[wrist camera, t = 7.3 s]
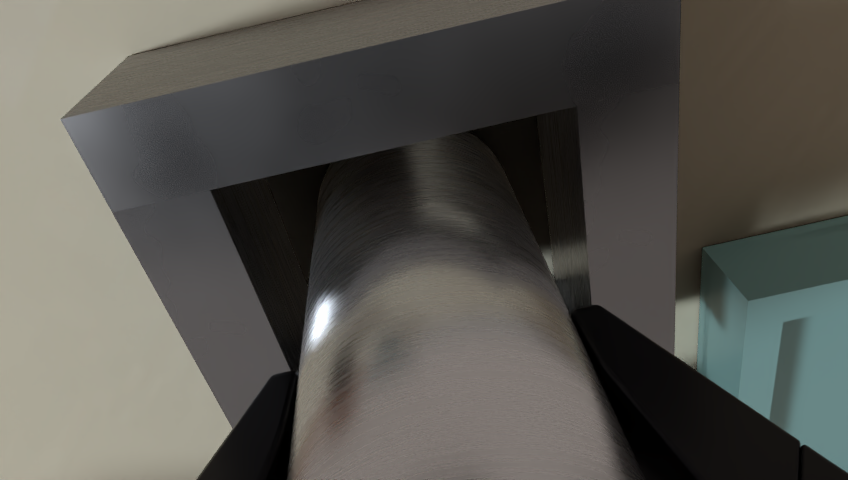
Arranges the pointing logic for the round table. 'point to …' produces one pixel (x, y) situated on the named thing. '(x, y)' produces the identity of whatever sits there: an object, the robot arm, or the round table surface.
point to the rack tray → (782, 329)
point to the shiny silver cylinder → (441, 333)
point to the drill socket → (380, 130)
